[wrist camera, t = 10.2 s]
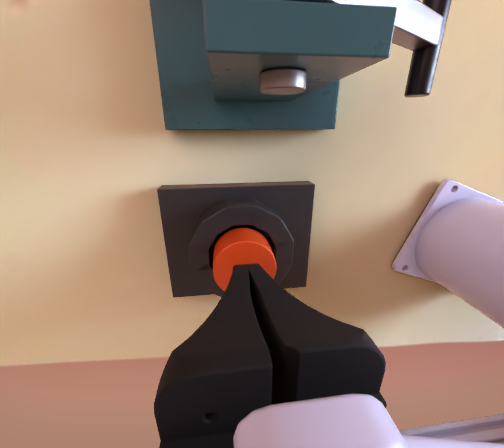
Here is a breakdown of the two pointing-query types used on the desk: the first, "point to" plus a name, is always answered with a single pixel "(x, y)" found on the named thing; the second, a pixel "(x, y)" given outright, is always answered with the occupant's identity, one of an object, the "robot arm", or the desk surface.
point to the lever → (414, 36)
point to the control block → (231, 217)
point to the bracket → (262, 60)
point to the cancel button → (241, 254)
